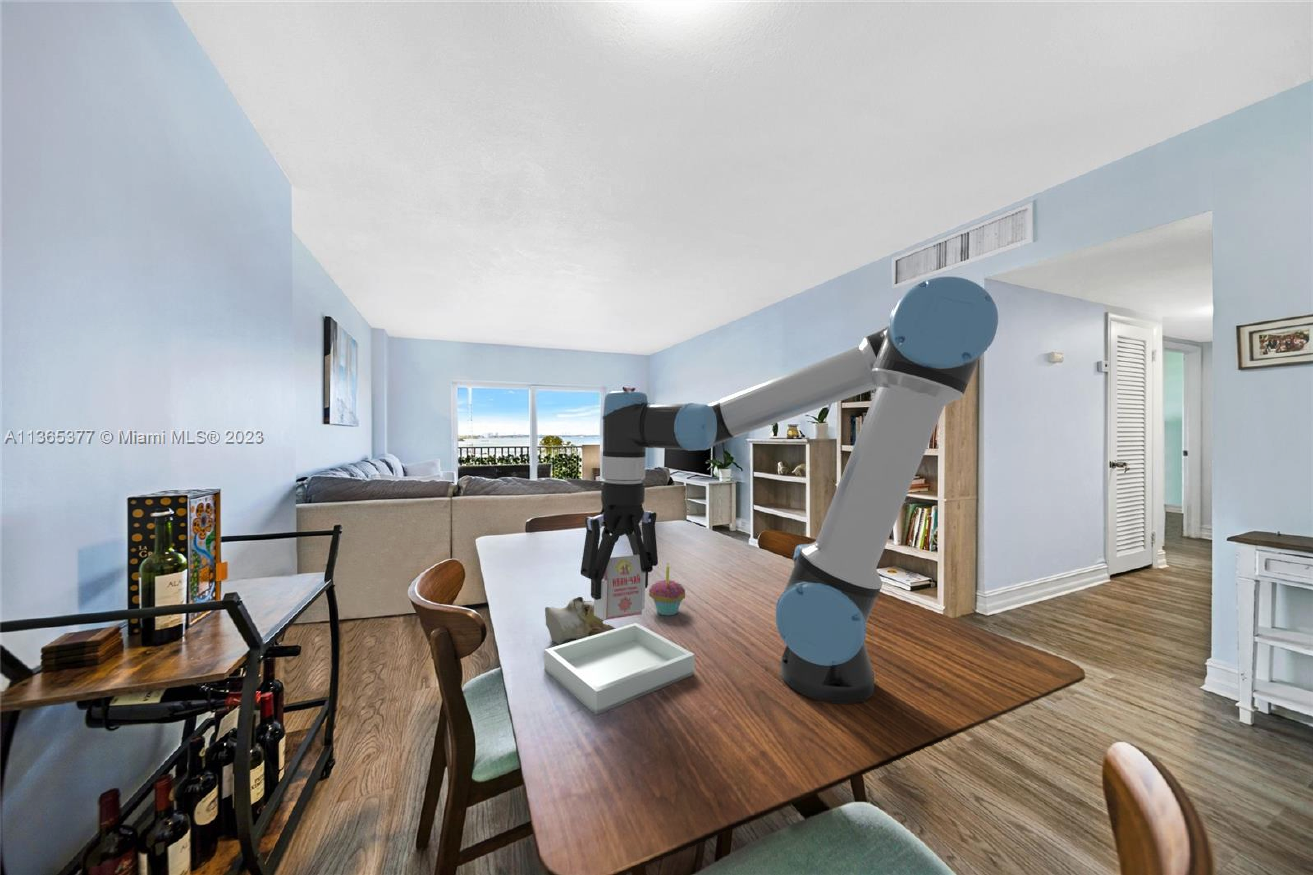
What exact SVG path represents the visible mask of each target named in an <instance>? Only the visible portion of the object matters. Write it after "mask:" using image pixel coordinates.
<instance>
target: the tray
mask: <svg viewBox="0 0 1313 875" xmlns="http://www.w3.org/2000/svg"><path fill="white" fill-rule="evenodd" d="M695 656H696V655H695V653H694V652H691V651H689V650H687V649H686V648H684V647H682V646H680V645H678V644H676V643H674V642H673V641H671V640H669V639H667V638H665V637H663V636H662V635H660V634H658V633H656V632H654V631H652V630H650V629H649V628H647V627H645V626H643V625H642V624H640V623H638V622H635V623H630V624H627V625H624V626H621V627H617V628H615V629H613V630H610V631H606V632H603V633H600V634H596V635H593V636H589V637H586V638H583V639H576V640H572V641H569V642H566V643H562V644H558V645H556V646H552V647H549V648H545V649H544V669H543V670H545V671H546V673H548V674H549V675H550V676H551V677H552V678H554V679H555V680H556V681H557V682H558V683H559V684H560V685H561V686H563V688H565V689H566V690H567V691H568V692H569V693H571V695H573V696H574V697H575V699H577V700H578V701H579V702H581V704H583V705H584V706H585V707H586V708H588V710H589V711H591V712H592V713H593V714H594V715H595V716H598V715H600V714H603V713H605V712H607V711H610V710H613V709H615V708H617V707H620V706H621V705H624V704H626V703H630V702H632V701H634V700H636V699H639V698H641V697H643V696H646V695H648V694H650V693H654V692H655V691H657V690H660V689H662V688H665V687H667V686H670V685H672V684H675V683H678V682H680V681H682V680H684V679H686V678H688V677H691V676H693V675H695V661H696V660H695V658H696V657H695Z"/></svg>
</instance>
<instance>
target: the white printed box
mask: <svg viewBox="0 0 1313 875" xmlns="http://www.w3.org/2000/svg"><path fill="white" fill-rule="evenodd" d="M603 579H605V580H607V609H606V619H605V620H604V621H607V620H614V619H620V618H625V617H632V616H638V615H642V614H643V609H642V585H643V579H642V573H641V566H640V556H639V554H636V555H633V554H627V555H617V556H611V557H610V560H609V563H608V566H607V568H606V571H605V574H604V577H603Z"/></svg>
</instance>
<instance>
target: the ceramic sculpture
mask: <svg viewBox="0 0 1313 875" xmlns="http://www.w3.org/2000/svg"><path fill="white" fill-rule="evenodd" d="M544 612H545V626H546V627H547V629H548V632H549V636H550V638H551V640H552V642H553V643H556V644H557V645H562V644H564V642H565V641H566V640H570V639H571V640H572V639H576V640H579V639H583V638H586V637H589V636H593V635H596V634H600V633H603V632H606V631H610V630H613V629H616V628H615V627H614V626H612V625H610V624H606V623H604V621H606V620H605V619H604V620H602V619H600V618H598V617H597V616H595V615H594V601H592V600H584V598H583V597H582V596H577V597H576V598H572V600H570V601H569V602H568V604H567V605H566V607H563V608H561V607H559V608H558V607H554V606H553V607H549V606H545V607H544Z"/></svg>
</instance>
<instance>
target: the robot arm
mask: <svg viewBox="0 0 1313 875" xmlns="http://www.w3.org/2000/svg"><path fill="white" fill-rule="evenodd" d="M888 322H889V324H888V325H887V327H884V328H883V329H881V330H879V331H877V332H874V333H872V334H869V335H868V336H865V337H864V338H863V339H862V341H861V343H860V344H859V345H858V346H856V347H853V348H851V349H848V350H845V351H843V352H841V353H839V354H835V355H832V356H829V357H827V358H825V359H822V360H819V361H816V362H815V363H811V364H809V365H807V366H804V367H801V368H799V369H796V370H794V371H790V372H789V373H786V374H783V375H781V376H779V377H778V376H777V377H775V378H773V379H770V380H768V381H766V382H763V383H760V384H758V385H755V386H753V387H750V388H747V389H745V390H742V391H738V392H736V393H734V394H732V395H728V396H727V397H723V398H721V399H719V400H716V401H714V402H711V403H708V404H703V403H702V404H701V403H695V402H694V403H693V402H689V403H658V404H657V403H649V401H648V395H647V394H646V393H645V392H641V391H625V390H621V391H620V390H615V391H610V392H608V393H607V394H605V397H604V402H603V403H604V404H603V415H602V417H601V419H602V426H603V427H602V428H603V429H602V431H603V432H602V457H601V458H602V462H601V463H602V464H601V471H602V472H601V475H602V476H601V478H602V479H604V481H603V482H602V483H601V486H600V488H601V489H600V490H601V492H600V493H601V494H600V496H601V497H600V500H601V505H602V506H601V511H600V513H599V514H598V515H596V516H587V517H585V519H584V522H585V523H584V524H585V528H586V532H585V539H584V540H585V541H584V546H583V554H582V559H581V560H582V561H581V566H580V575H581V576H583V577H585V578H587V579H588V580H590V597H591V598H592V599H593V600H594V601H593V602H594V615H595V616H597V617H598V618H600V619H602V620H604V619H606V609H607V580H605V579H603V577H604V574H605V571H606V568H607V566H608V563H609V560H610V557H612V553H613V551H614V548H615V545H616V543H617V542H618V541H619V538H620V537H622V536H624V535H626V537H627V540H628V543H629V546H630V548H631V549H630V550H631V551H632V555H636V554H639V556H640V566H641V573H642V579H643V585H642V610H644V609H645V606H646V605H645V603H646V589H647V588H648V586H649V573H652V572H653V570H654V569H653V567H656V566H658V564H659V559H658V558H659V557H658V547H657V546H658V545H657V534H656V532H657V531H656V521H657V515H658V514H657V512H654V511H651V510H644V508H643V504H644V502H645V497H646V495H645V489H646V487H645V486H646V485H645V483H644V482H642V481H644V480H645V479H646V456H647V454H646V452H647V449H653V448H654V449H666V450H667V449H669V450H683V451H684V450H685V451H688V452H692V451H706V450H709V449H711V448H714V447H717V446H718V445H720V444H722V443H724V442H726V441H729V440H732V439H734V438H736V437H737V438H738V437H739V436H742V435H745V434H748V433H752V432H754V431H756V430H760V429H763V428H766V427H768V426H771V425H773V424H774V425H775V424H777V423H779V422H782V421H786V420H788V419H792V418H795V417H797V416H801V415H803V414H806V413H809V412H812V411H814V410H818V409H821V408H823V407H826V406H829V405H833V404H835V403H838V402H840V401H844V400H847V399H850V398H852V397H856V396H857V395H861V394H865V393H867V392H870V391H872V390H875V392H874V395H873V397H872V400H871V402H870V405H869V407H868V409H867V412H866V415H865V417H864V420H863V422H862V424H861V427H860V430H859V432H858V435H857V437H856V439H855V442H854V445H853V447H852V450H851V453H850V455H849V458H848V460H847V463H846V465H845V467H844V470H843V473H842V475H841V477H840V481H839V482H838V484H837V487H836V489H835V491H834V492H835V493H834V496H833V497H832V500H831V503H830V505H829V507H828V511H827V512H826V514H825V518H824V520H823V521H822V522H823V523H822V526H821V528H820V530H819V532H818V535H817V538H816V540H815V541H813V542H811V543H804V544H799V545H798V544H797V546H795V549H794V553H793V557H792V561H793V568H792V570H791V574H790V576H789V578H788V581H787V583H786V586H785V588H784V591H783V592H782V593H781V594H780V596H779V597H778V600H777V602H776V607H775V624H776V627H777V628H776V629H777V631H778V633H779V635H780V638H781V639H782V641H783V642H784V644H785V645H786V646H785V648H784V651H783V654H782V657H781V660H780V675H781V678H782V680H783V681H784V682H785V684H787V685H788V686H789V687H790V688H791V689H792V690H794V691H795V692H797V693H799V694H801V695H803V696H806V697H808V698H811V699H813V700H817V701H822V702H826V703H832V704H845V705H846V704H847V705H849V704H856V703H861V702H864V701H866V700H868V699H870V698H871V697H872V696H873V694H874V692H875V674H874V671H873V668H872V667H873V666H872V664H871V661H870V657H869V654H868V650H867V648H866V644H865V640H866V633H867V623H868V620H869V618H870V615H871V614H872V611H873V608H874V606H875V603H876V602H877V599H878V596H879V595H880V591H881V590H882V587H883V581H882V579H881V577H880V574H879V572H878V571H877V570H878V569H877V566H878V564H879V562H880V560H881V558H882V555H883V553H884V550H885V548H886V545H887V543H888V541H889V538H890V536H891V534H892V531H893V530H894V527H895V524H896V522H897V519H898V517H899V514H900V513H901V510H902V508H903V505H904V503H905V501H906V498H907V495H908V493H909V491H910V489H911V486H912V484H913V482H914V479H915V476H916V474H917V472H918V469H919V468H920V465H921V463H922V460H923V459H924V458H923V457H924V456H925V453H926V450H927V448H928V446H929V444H930V442H931V439H932V437H933V434H934V432H935V429H936V427H937V426H938V422H939V420H940V418H941V415H942V413H943V410H944V409H945V408H944V407H946V406H947V405H949V404H950V403H953V402H955V401H957V400H959V399H961V398H963V396H964V394H965V392H966V389H967V387H968V386H969V383H970V381H971V378H972V376H973V373H974V371H975V369H976V367H977V364H978V361H979V359H980V357H981V356H982V355H983V354H984V353H985V352H987V350H988V348H990V346H991V345H992V343H993V341H994V339H995V336H996V334H997V330H998V324H999V313H998V308H997V305H996V303H995V301H994V300H993V297H992V295H990V293H989V292H988V291H987V290H986V289H985V288H983V287H982V286H981V285H980V284H978V283H976V282H974V281H973V280H969V279H968V278H967V279H966V278H963V277H958V276H939V277H934V278H930V279H926V280H924V281H922V282H920V283H918V284H915V285H914V286H913V287H912V288H910V289H909V290H908V291H906V292H905V293H904V294H903V295H902V296H901V297H900V298H899V300H898V302H897V303H895V305H894V306H893V308H892V310H891V312H890V315H889V320H888ZM640 523H641V527H640ZM603 525H604V526H603ZM602 528H603V529H602ZM601 529H602V532H601ZM600 538H601V539H600ZM604 621H605V620H604Z"/></svg>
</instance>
